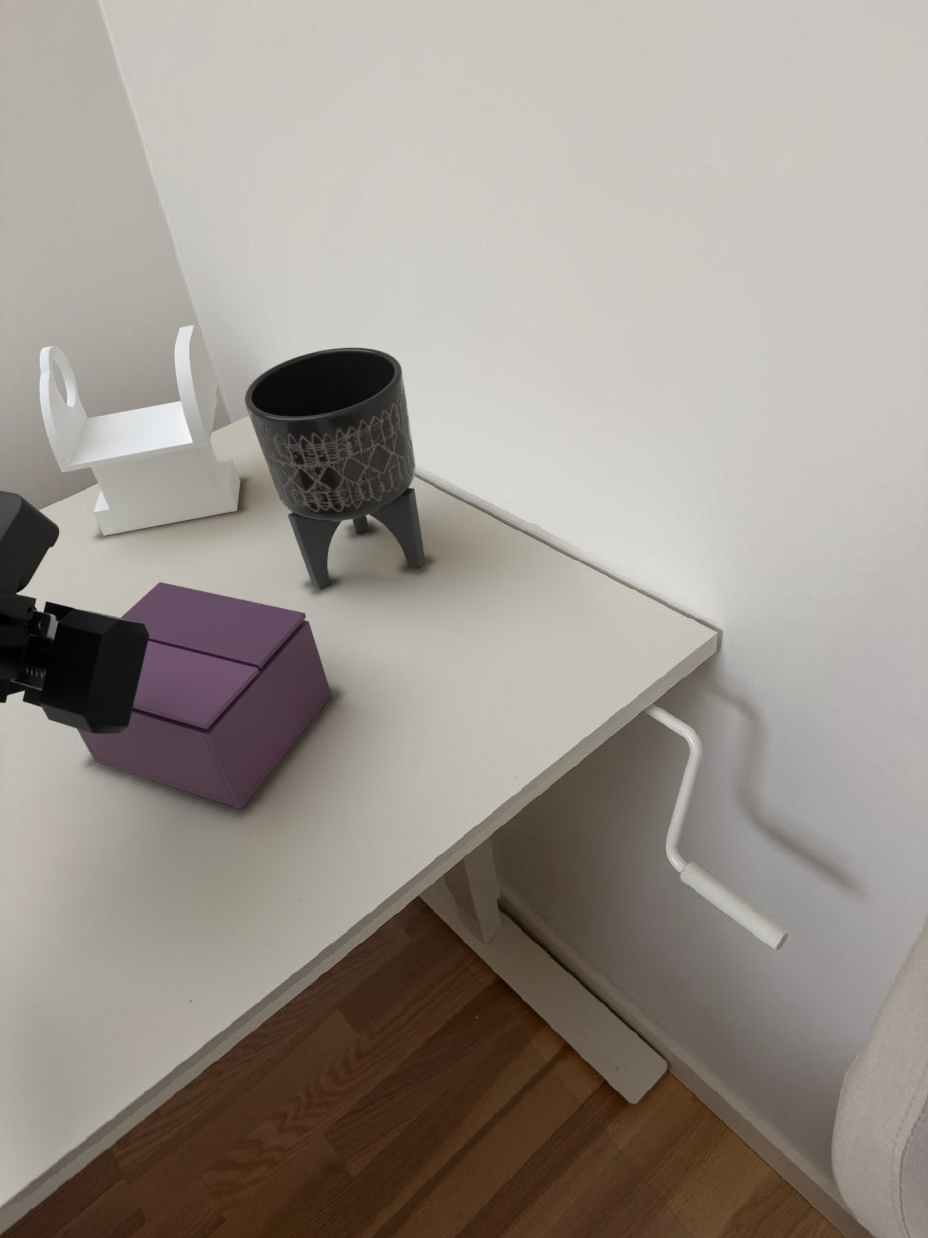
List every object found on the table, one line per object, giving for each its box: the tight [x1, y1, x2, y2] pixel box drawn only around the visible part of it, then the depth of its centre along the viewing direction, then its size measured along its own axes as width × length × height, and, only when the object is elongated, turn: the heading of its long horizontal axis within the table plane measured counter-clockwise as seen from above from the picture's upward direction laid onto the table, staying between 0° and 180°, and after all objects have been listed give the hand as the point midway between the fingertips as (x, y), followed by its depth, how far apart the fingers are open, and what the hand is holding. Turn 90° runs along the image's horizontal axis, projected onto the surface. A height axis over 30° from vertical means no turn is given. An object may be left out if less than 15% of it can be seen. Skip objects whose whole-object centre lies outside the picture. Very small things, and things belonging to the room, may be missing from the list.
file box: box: [76, 581, 332, 810], centre depth 71 cm, size 12×14×8 cm
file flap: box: [133, 641, 259, 729], centre depth 66 cm, size 6×14×1 cm, turn 64°
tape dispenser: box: [39, 324, 241, 537], centre depth 96 cm, size 14×13×18 cm
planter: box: [244, 346, 426, 590], centre depth 83 cm, size 13×13×18 cm
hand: (112, 658), depth 62 cm, fingers closed
